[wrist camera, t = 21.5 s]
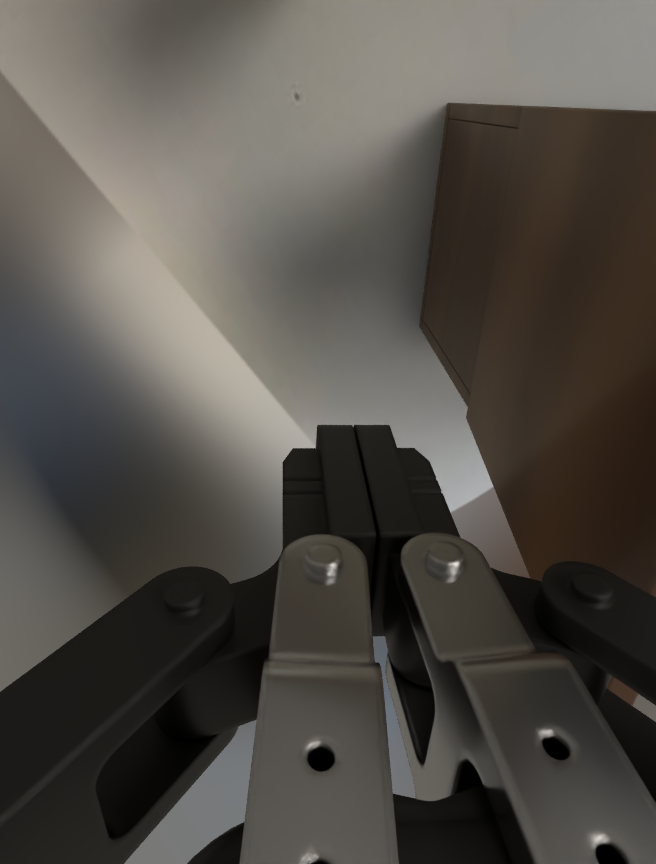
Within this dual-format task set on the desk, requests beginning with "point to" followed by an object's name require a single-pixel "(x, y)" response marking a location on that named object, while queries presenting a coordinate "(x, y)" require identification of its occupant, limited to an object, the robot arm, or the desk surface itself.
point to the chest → (466, 232)
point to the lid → (575, 346)
